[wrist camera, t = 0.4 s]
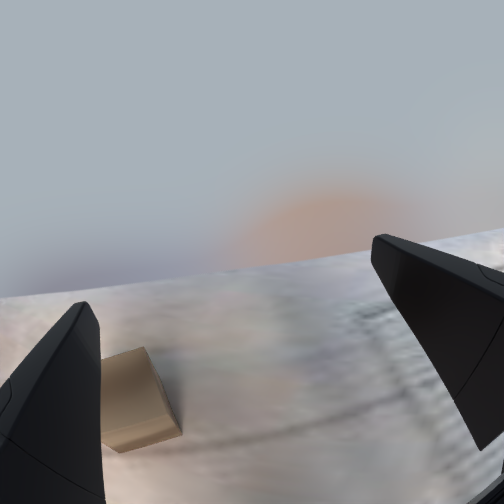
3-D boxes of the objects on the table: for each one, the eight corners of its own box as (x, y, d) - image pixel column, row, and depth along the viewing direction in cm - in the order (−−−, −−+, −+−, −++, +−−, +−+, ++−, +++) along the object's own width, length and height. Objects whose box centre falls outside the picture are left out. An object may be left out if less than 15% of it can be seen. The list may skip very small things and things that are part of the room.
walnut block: (182, 434, 18) (167, 413, 15) (119, 453, 17) (91, 435, 13) (160, 379, 22) (143, 346, 18) (103, 396, 20) (76, 366, 17)
